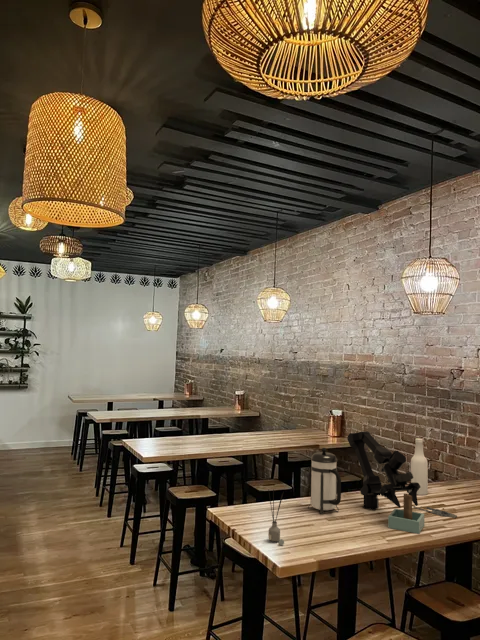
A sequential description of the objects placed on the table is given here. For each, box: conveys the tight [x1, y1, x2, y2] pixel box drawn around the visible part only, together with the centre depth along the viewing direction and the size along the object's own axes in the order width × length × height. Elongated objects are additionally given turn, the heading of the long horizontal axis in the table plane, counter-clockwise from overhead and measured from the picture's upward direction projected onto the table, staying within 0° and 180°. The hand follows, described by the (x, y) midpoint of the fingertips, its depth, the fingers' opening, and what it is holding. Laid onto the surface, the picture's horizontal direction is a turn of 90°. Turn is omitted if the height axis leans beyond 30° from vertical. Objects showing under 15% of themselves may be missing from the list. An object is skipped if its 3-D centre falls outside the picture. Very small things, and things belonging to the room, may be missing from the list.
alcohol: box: [410, 437, 429, 496], centre depth 270 cm, size 9×9×30 cm
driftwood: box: [412, 505, 458, 519], centre depth 236 cm, size 21×7×2 cm, turn 36°
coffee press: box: [307, 447, 342, 515], centre depth 235 cm, size 17×16×30 cm
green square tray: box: [387, 508, 425, 535], centre depth 215 cm, size 13×13×5 cm
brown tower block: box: [403, 493, 413, 520], centre depth 215 cm, size 5×5×13 cm
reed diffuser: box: [267, 489, 285, 546], centre depth 195 cm, size 10×7×20 cm
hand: (408, 506), depth 214 cm, fingers open, 9 cm apart
